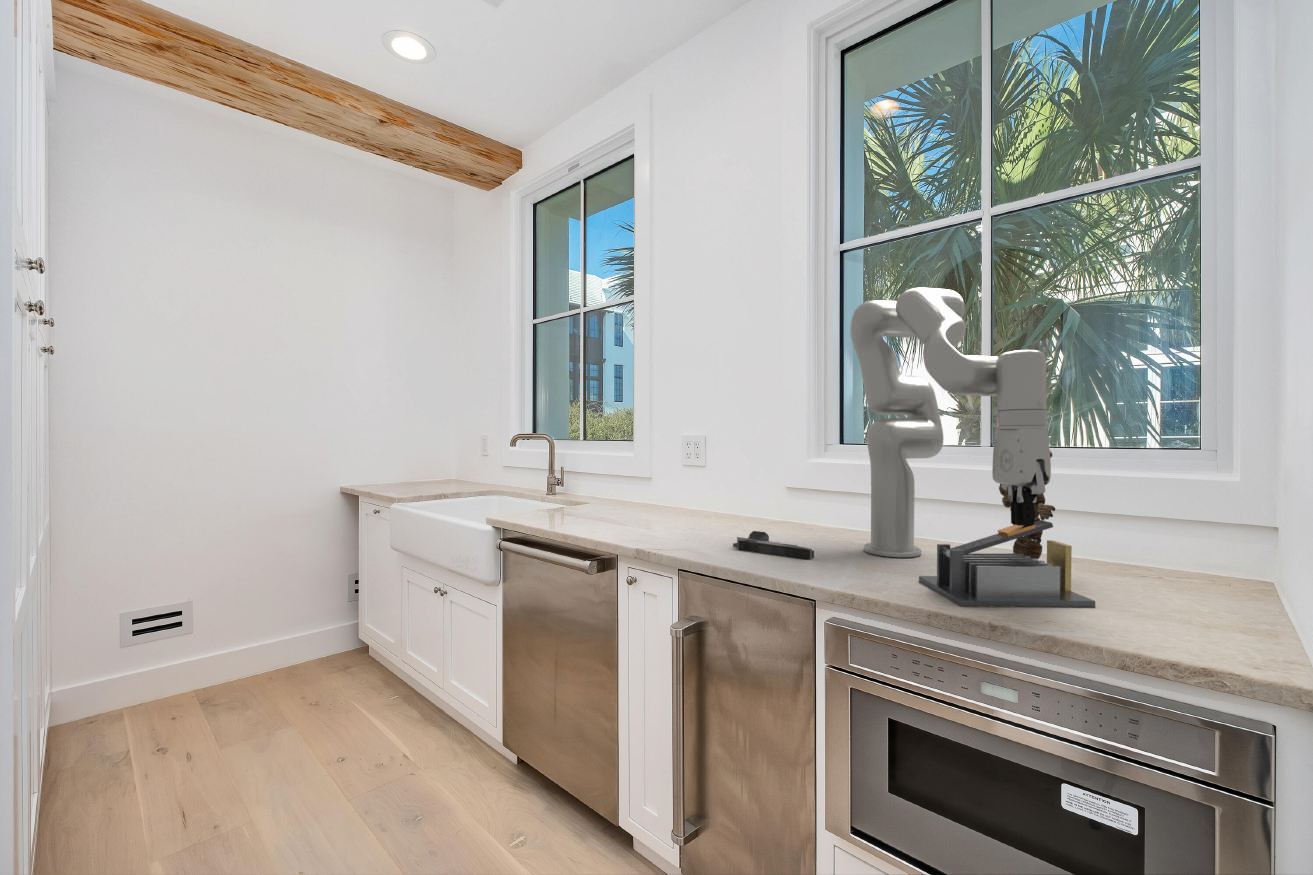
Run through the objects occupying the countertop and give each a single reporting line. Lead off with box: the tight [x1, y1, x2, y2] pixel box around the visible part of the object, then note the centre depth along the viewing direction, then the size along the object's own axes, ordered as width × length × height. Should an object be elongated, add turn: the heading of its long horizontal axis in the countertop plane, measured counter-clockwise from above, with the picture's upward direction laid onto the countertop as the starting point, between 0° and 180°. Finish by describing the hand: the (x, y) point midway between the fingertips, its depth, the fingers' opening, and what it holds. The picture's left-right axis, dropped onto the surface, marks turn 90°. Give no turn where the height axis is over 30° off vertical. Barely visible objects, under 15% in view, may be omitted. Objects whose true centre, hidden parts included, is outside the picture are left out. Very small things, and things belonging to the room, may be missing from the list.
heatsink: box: [918, 539, 1096, 608], centre depth 105 cm, size 22×16×9 cm
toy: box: [998, 450, 1056, 560], centre depth 121 cm, size 20×7×30 cm, turn 168°
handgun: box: [732, 530, 815, 561], centre depth 142 cm, size 3×21×12 cm
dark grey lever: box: [941, 519, 1054, 558], centre depth 105 cm, size 19×4×2 cm, turn 89°
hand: (1022, 524), depth 104 cm, fingers closed
